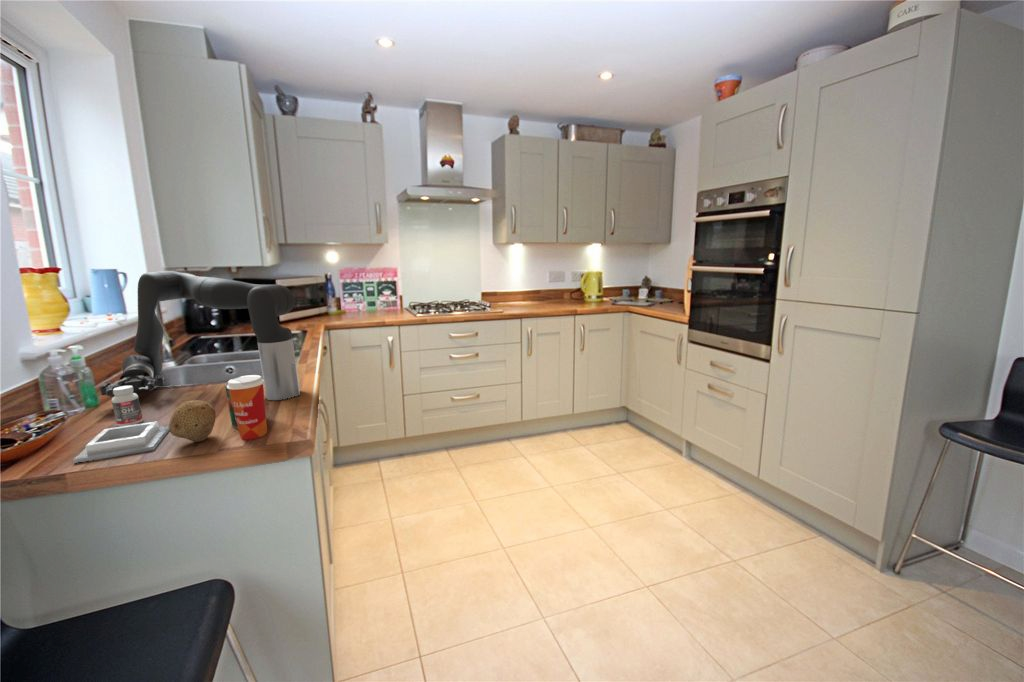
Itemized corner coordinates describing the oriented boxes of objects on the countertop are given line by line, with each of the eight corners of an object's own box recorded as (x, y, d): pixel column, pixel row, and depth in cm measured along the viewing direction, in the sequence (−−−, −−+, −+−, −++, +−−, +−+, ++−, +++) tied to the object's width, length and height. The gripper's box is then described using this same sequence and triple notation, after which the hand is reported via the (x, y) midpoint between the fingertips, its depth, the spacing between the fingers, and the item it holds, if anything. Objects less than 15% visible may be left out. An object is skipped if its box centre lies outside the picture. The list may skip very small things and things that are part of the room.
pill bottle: (126, 428, 118) (118, 391, 116) (111, 426, 119) (103, 390, 117) (148, 420, 123) (141, 385, 121) (134, 418, 124) (126, 383, 122)
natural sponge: (173, 454, 101) (164, 411, 99) (172, 441, 108) (164, 400, 106) (221, 442, 107) (214, 401, 105) (218, 430, 114) (211, 392, 112)
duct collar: (170, 428, 116) (168, 417, 116) (154, 450, 104) (151, 437, 103) (100, 439, 111) (97, 427, 110) (74, 463, 98) (70, 450, 98)
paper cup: (227, 439, 108) (217, 382, 105) (256, 427, 115) (247, 373, 112) (251, 443, 105) (242, 385, 102) (279, 430, 112) (271, 375, 109)
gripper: (104, 369, 137) (94, 382, 124) (163, 361, 145) (159, 372, 132) (109, 393, 139) (100, 408, 126) (168, 384, 147) (164, 397, 133)
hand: (130, 390), depth 129 cm, fingers open, 8 cm apart
